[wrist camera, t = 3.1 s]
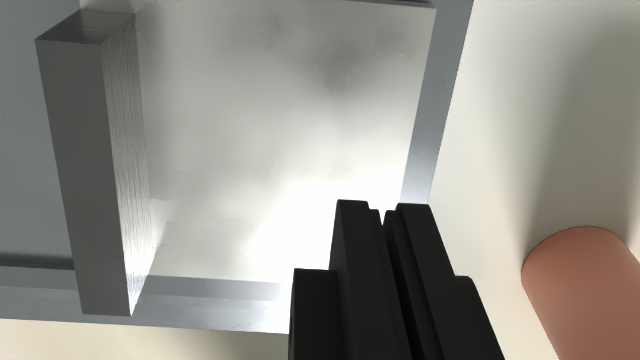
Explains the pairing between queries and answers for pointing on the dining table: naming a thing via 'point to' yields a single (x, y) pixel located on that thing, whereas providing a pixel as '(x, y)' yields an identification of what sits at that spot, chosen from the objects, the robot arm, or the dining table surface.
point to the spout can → (586, 294)
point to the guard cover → (224, 132)
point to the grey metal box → (158, 291)
